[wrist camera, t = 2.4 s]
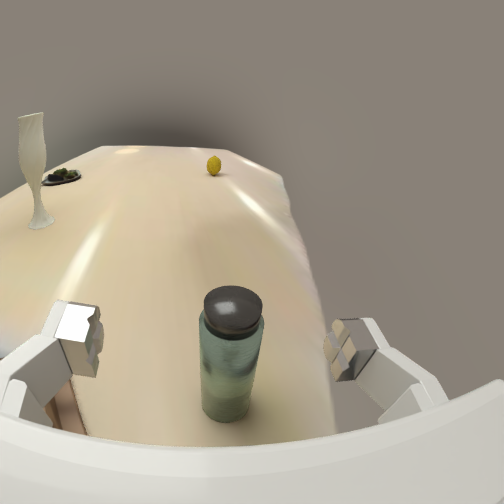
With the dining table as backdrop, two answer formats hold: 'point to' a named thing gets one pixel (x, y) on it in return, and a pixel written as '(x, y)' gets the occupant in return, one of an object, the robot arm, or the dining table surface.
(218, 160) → the lemon
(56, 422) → the u rest
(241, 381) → the flask
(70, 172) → the salad plate
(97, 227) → the dining table surface
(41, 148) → the vase
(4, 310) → the dining table surface
